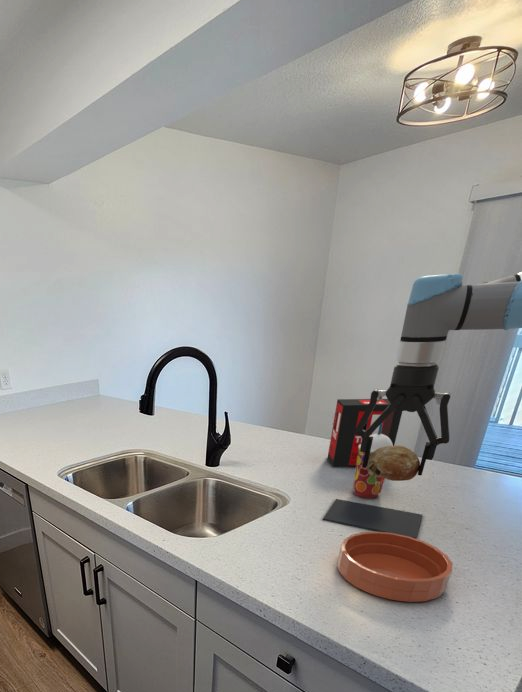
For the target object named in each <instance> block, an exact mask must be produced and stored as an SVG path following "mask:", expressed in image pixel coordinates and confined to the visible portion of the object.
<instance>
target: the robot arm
mask: <svg viewBox="0 0 522 692" xmlns="http://www.w3.org/2000/svg"><path fill="white" fill-rule="evenodd" d="M514 329H515V330H516V329H522V271H521V272H518V273H516V274H511V275H508V276H506V277H505V276H504V277H502V278H498V279H496V280H495V279H494V280H492V281H485V282H482V283H478V284H463V275H462V273H449V274H448V273H447V274H433V275H432V274H431V275H423V276H419V277H418V278H417V279H416V280H414V281H413V284H412V287H411V290H410V295H409V299H408V303H407V305H406V310H405V316H404V319H403V324H402V330H401V336H400V340H399V342H398V348H397V352H396V357H395V362H396V363H397V364H395V365H394V367H393V371H392V375H391V381H390V385H389V386H388V388H387V389H378V388H375V389H373V390H372V392H371V393H370V398H369V399H370V403H369V405H368V407H367V409H366V410H365V412H364V414H363V416H362V418H361V420H360V422H359V424H358V425H357V427H356V429H355V431H354V434H355V435H359V436H361V437H362V442H361V447H360V452H365V455H364V460H363V464H362V468H366V466H367V461H368V458H369V455H370V450H371V446H372V441H373V437H370V435H371V434H372V433H373V432H374V431H375V430H376V429H377V427H378V426H379V425H380V424H381V423H382V422H383V421H384V420H385V419H386V418H387V417H388V416H389V415H390V414H391V413H392V411H393V410H394V409H395V410H397V411H402V412H409V413H417V416H418V417H419V419H420V422H421V423H422V426H423V430H424V432H425V434H426V437H427V439H428V441H426V442H425V445H424V449H423V453H422V456H421V459H420V467H419V471H418V473H417V476H423V472H424V469H425V465H426V461H427V460H429V461H432V460H433V459H434V457H435V453H436V450H437V447H438V446H439V445H442V444H446V445H447V444H448V443H449V442H450V423H449V407H448V405H449V402H450V399H451V392H449V391H445V392H439V391H438V392H437V391H435V384H436V380H437V376H438V373H439V365H438V363H440V362H442V357H443V353H444V349H445V345H446V342H447V337H448V334H449V331H465V330H466V331H468V330H470V331H473V330H474V331H477V330H480V331H481V330H482V331H483V330H484V331H485V330H486V331H487V330H503V331H508V330H514ZM383 397H386V399H388V400H389V402H390V405H389V406H388V407H387V408H386V409H385V411H384V412H383V413H382V414H381V415H380V416H379V417H378V418H377V419H376V420H375V421H374V423H373V424H372V425H371V426H370V427H369V428H368V429H367V430H364V429H363V427H364V426H365V424H366V422H367V420H368V418H369V416H370V415H371V413H372V411H373V409H374V407H375V405H376V403H377V401H380V400H381V399H383ZM433 399H435V403H436V404H437V405H439V420H440V436H438V435H437V432H436V431H435V428H434V425H433V423H432V421H431V418H430V415H429V412H428V409H427V407H426V405H427V404H429V402H430V401H432V400H433Z"/></svg>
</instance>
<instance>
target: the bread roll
mask: <svg viewBox="0 0 522 692" xmlns="http://www.w3.org/2000/svg"><path fill="white" fill-rule="evenodd" d="M420 463H421V460H420V459H419V457H418V455H417V454H416V452H414V451H412V449H410V448H408V447H406V446H403V445H394V446H386V447H381V448H379V449H377V450H375V451H374V452H373V453H372V454H371V455H370V457H369V458H368V461H367V470H368V472H369V475H374V476H377V477H380V478H385V479H387V480H388V481H393V482H402V481H404V482H405V481H410V480H412V479H414V478H415V477H416V476H418V471H419V467H420Z"/></svg>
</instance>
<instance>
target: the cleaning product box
mask: <svg viewBox="0 0 522 692" xmlns="http://www.w3.org/2000/svg"><path fill="white" fill-rule="evenodd" d="M336 400H337V401H336V406H335V412H334V416H333V417H334V418H333V424H332V430H331V437H330V441H329V447H328V451H327V452H328V453H327V460H328V463H330V465H331V467H332V468H355V469H356V464H357V456H358V449H359V444H361V442H362V437H361V436H359V435H355V434H354V431H355V429H356V427H357V425H358V424H359V422H360V420H361V418H362V416H363V414H364V412H365V410H366V409H367V407H368V405H369V403H370V398H346V399H345V398H338V399H336ZM389 405H390V402H389V400H388V399H387V398H382V399H381V400H380V401H377V403H376V405H375V407H374V409H373V411H372V413H371V415H370V416H369V418H368V420H367V422H366V424H365V426H364V427H363V429H364V430H367V429H368V428H369V427H370V426H371V425H372V424H373V423H374V421H375V420H376V419H377V418H378V417H379V416H380V415H381V414H382V413H383V412H384V411H385V409H386V408H387V407H388V406H389ZM402 415H403V411H397V410H395V409H394V410H393V411H392V413H391V414H390V415H389V416H388V417H387V418H386V419H385V420H384V421H383V422H382V424H383V426H382V430H381V434H384V435H386V436H387V437H389V438H390V440H391V441H392V444H393V446H395V445H396V440H397V437H398V436H397V435H398V432H399V427H400V423H401V420H402ZM379 426H380V425H379ZM379 426H378V427H377V429H376V430H375V431H374V432H373V433H372V434H376V433H378V431H379ZM372 434H371V435H372Z"/></svg>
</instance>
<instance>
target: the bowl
mask: <svg viewBox="0 0 522 692" xmlns="http://www.w3.org/2000/svg"><path fill="white" fill-rule="evenodd" d="M336 564H337V569H338V572H339V574H340V575H341V576H342V577H343V578H344V580H346V581H347V582H348V583H350V584H351V585H353V586H354V587H356V588H357V589H360V590H362V591H364V592H366V593H369V594H370V595H373V596H376V597H379V598H384V599H387V600H390V601H391V600H393V601H398V602H408V603H414V602H415V603H416V602H427V601H432V600H434V599H437V598H440V596H442V594H443V593H445V591H446V590H447V586H448V583H449V581H450V579H451V576H452V572H453V565H454V564H453V562H452V560H451V559H450V558H449V556H448V555H447V554H445V553H444V552H443V551H442V550H441V549H439V548H438V547H436V546H434V545H432V544H430V543H428V542H426V541H424V540H421V539H418V538H416V539H415V538H412V537H409V536H404V535H400V534H395V533H388V532H379V531H362V532H357V533H353V534H351V535H349V536H347V537H346V538H343V541H342V543H341V544H340V548H339V553H338V558H337V562H336Z"/></svg>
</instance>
